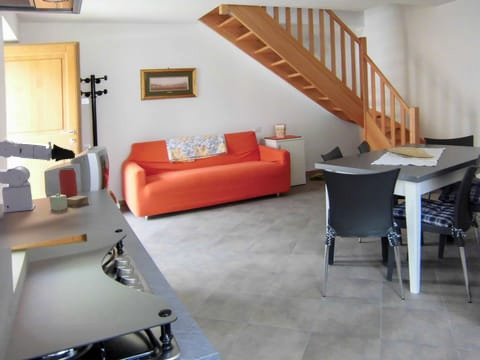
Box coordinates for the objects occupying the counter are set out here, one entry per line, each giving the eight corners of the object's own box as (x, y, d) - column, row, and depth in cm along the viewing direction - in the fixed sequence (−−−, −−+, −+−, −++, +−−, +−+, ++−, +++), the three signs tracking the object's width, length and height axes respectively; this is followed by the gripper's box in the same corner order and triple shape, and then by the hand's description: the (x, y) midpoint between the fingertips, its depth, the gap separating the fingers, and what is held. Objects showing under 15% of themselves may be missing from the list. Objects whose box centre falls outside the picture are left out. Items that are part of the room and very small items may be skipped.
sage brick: (58, 210, 154) (57, 195, 153) (50, 210, 156) (49, 195, 155) (67, 208, 157) (65, 193, 156) (59, 207, 159) (58, 192, 158)
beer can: (61, 196, 180) (59, 168, 178) (78, 194, 182) (75, 167, 180) (60, 199, 174) (57, 170, 172) (77, 197, 176) (74, 169, 174)
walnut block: (76, 207, 159) (75, 199, 159) (64, 206, 162) (64, 198, 161) (88, 204, 165) (87, 196, 164) (77, 203, 167) (76, 195, 167)
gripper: (32, 137, 150) (73, 142, 154) (38, 142, 163) (76, 146, 167) (30, 157, 149) (72, 161, 153) (37, 161, 163) (74, 164, 167)
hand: (74, 154), depth 160 cm, fingers open, 7 cm apart
